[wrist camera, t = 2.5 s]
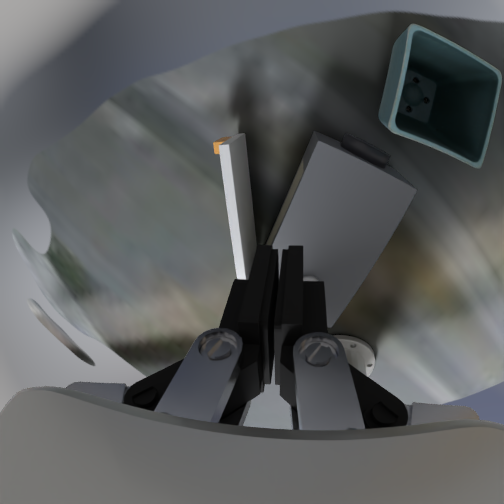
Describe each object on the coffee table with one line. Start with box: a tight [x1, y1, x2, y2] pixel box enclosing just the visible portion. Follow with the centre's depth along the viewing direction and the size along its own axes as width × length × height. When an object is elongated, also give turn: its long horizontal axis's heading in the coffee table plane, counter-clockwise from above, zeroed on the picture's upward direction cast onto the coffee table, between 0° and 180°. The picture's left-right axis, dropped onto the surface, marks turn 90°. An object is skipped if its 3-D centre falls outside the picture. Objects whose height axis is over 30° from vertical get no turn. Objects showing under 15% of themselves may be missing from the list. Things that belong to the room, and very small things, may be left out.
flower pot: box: [378, 24, 502, 168], centre depth 19 cm, size 9×9×9 cm
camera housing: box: [265, 131, 417, 328], centre depth 27 cm, size 17×9×8 cm, turn 161°
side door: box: [213, 133, 257, 279], centre depth 28 cm, size 14×2×7 cm, turn 6°
